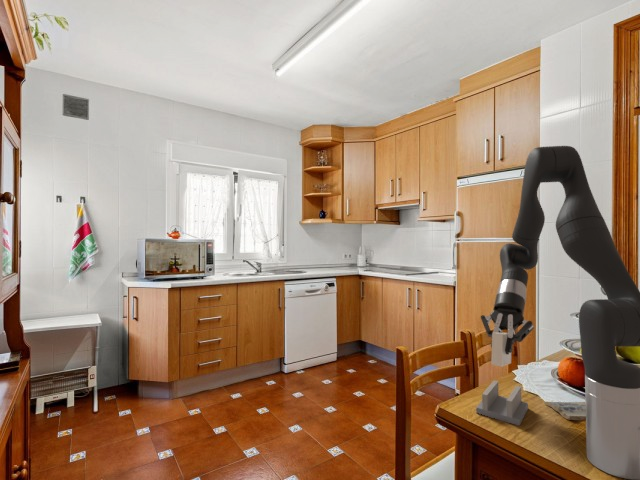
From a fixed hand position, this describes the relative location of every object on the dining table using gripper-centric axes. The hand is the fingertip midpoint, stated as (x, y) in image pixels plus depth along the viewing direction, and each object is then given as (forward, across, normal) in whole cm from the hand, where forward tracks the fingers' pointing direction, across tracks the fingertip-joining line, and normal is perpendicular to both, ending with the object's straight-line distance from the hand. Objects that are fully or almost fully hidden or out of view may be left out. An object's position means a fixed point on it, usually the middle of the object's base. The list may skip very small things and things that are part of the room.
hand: (500, 351), depth 92 cm
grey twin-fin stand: (+11, 0, +12) cm, 16 cm away
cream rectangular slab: (+2, 0, +3) cm, 4 cm away
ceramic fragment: (+4, +15, +20) cm, 25 cm away
